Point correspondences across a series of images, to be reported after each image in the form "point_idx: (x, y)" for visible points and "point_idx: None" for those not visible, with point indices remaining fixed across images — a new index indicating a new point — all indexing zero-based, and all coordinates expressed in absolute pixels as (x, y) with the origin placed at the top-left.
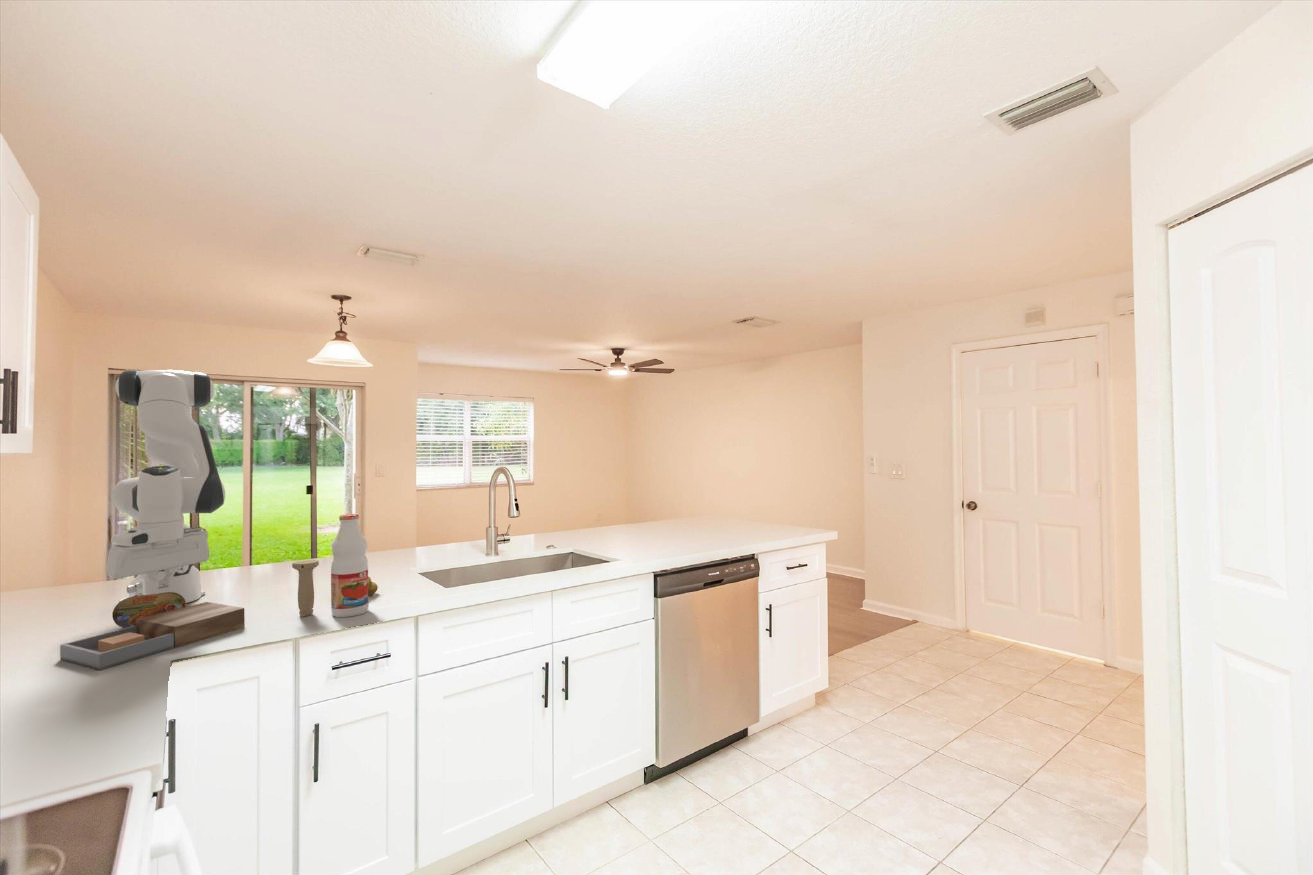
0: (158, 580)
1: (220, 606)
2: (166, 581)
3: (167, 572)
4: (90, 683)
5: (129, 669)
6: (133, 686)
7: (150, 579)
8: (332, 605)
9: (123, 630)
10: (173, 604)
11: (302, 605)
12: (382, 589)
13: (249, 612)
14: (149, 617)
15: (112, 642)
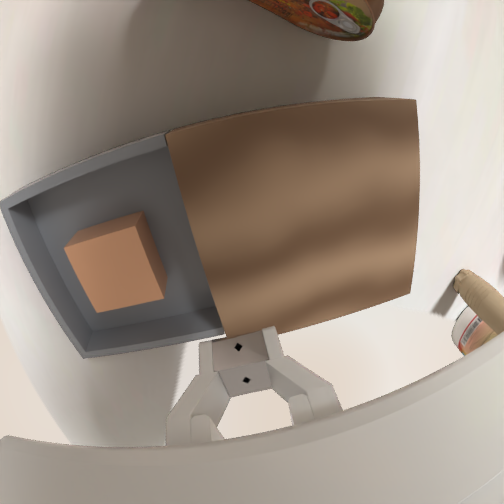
0: (223, 407)
1: (404, 216)
2: (265, 383)
3: (302, 392)
4: (90, 377)
5: (136, 365)
6: (143, 418)
7: (187, 392)
8: (465, 334)
9: (126, 158)
10: (338, 11)
11: (465, 300)
12: None
13: (451, 139)
14: (207, 150)
15: (95, 300)
